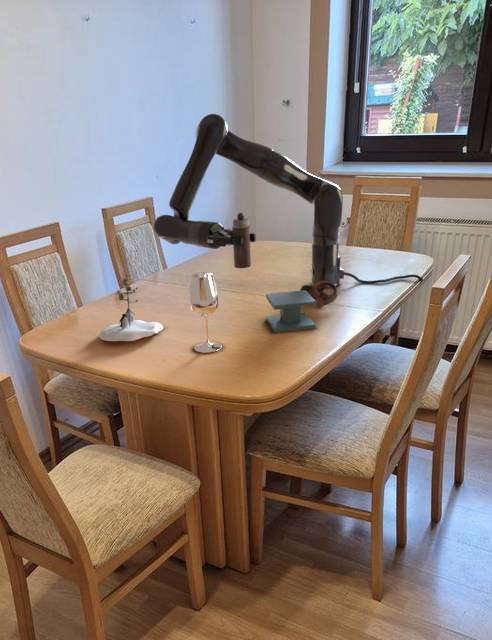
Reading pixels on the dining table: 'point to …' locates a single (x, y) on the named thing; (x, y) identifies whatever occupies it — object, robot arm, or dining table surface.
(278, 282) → the dining table surface
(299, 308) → the stand
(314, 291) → the brown clay hollow piece
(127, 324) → the figurine
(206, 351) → the wineglass
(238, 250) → the pepper mill
